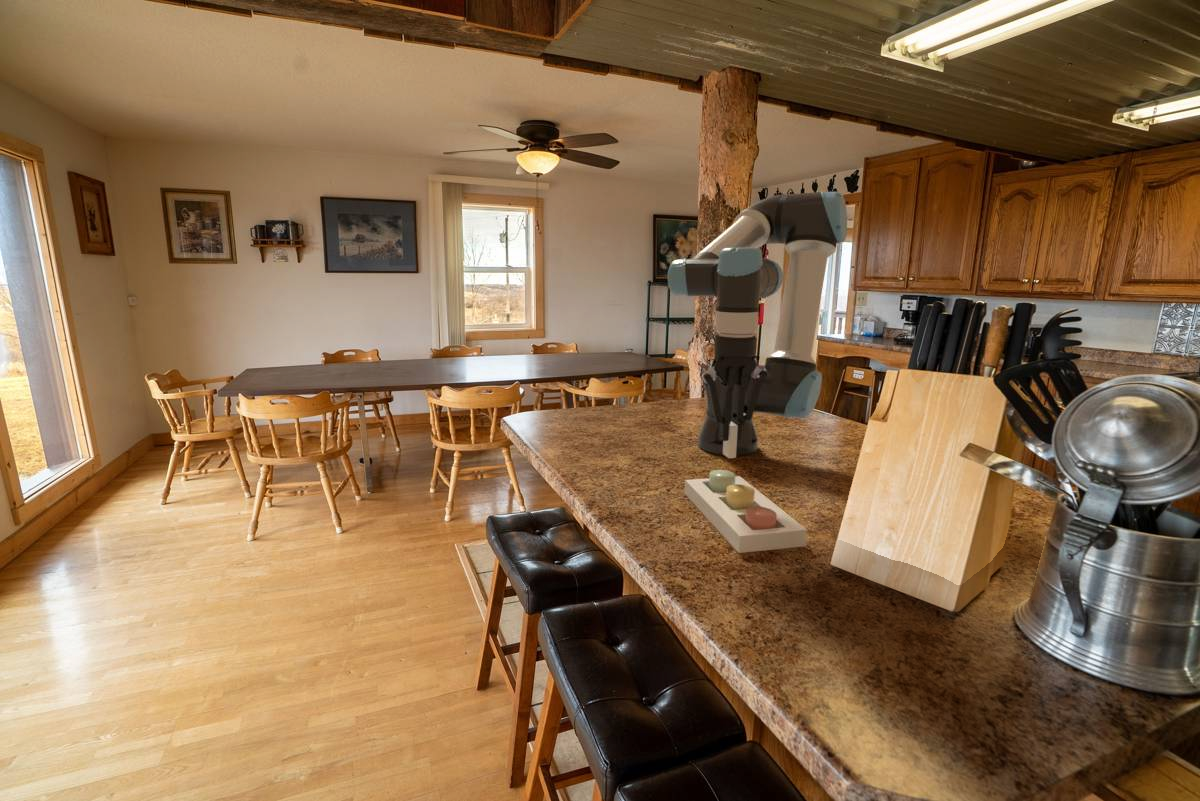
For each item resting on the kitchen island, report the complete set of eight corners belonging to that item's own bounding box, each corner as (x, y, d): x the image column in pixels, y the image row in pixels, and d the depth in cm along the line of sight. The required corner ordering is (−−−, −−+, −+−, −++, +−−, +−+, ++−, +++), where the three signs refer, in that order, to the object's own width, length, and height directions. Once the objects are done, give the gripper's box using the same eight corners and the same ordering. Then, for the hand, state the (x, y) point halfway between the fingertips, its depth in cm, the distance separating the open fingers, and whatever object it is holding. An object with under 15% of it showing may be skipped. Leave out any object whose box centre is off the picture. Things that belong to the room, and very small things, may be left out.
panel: (738, 489, 116) (739, 476, 116) (805, 546, 92) (807, 529, 92) (684, 493, 114) (685, 479, 113) (738, 553, 90) (739, 536, 89)
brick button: (766, 521, 98) (767, 505, 97) (780, 534, 93) (782, 517, 93) (739, 523, 97) (741, 507, 96) (753, 536, 92) (754, 520, 92)
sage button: (727, 483, 113) (728, 469, 112) (738, 492, 108) (739, 477, 108) (704, 484, 112) (705, 470, 111) (714, 494, 107) (715, 479, 107)
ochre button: (745, 498, 105) (746, 483, 105) (758, 509, 101) (759, 493, 100) (721, 500, 104) (722, 485, 104) (732, 511, 100) (733, 495, 99)
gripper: (757, 330, 107) (750, 446, 113) (694, 333, 104) (690, 452, 110) (778, 335, 100) (769, 459, 106) (711, 338, 97) (705, 465, 103)
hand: (729, 455), depth 108 cm, fingers closed
